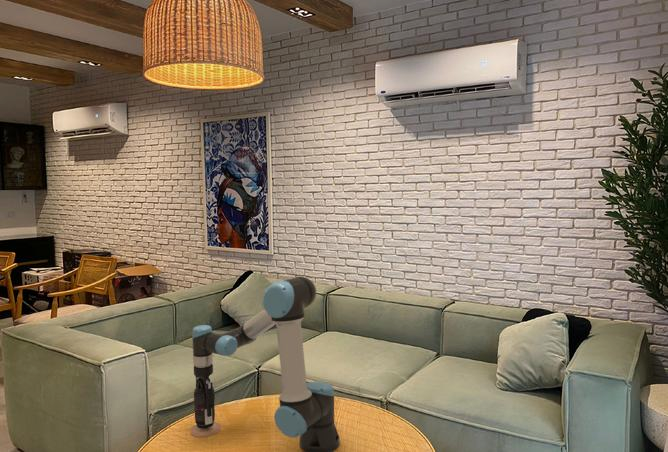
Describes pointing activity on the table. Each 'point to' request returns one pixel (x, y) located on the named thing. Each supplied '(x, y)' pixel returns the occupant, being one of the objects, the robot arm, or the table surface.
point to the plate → (205, 430)
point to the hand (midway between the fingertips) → (205, 419)
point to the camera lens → (202, 409)
